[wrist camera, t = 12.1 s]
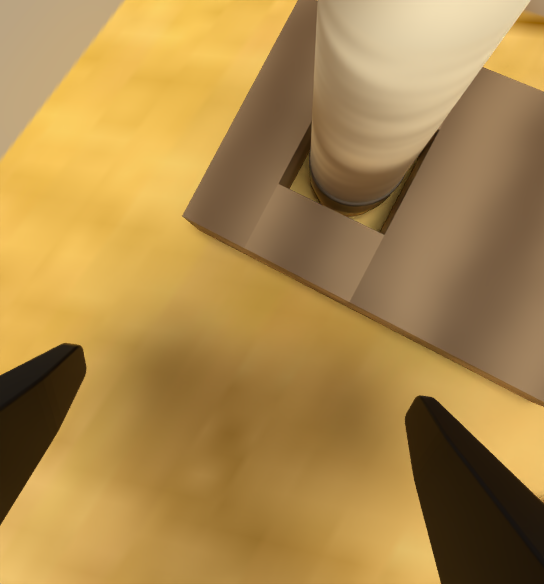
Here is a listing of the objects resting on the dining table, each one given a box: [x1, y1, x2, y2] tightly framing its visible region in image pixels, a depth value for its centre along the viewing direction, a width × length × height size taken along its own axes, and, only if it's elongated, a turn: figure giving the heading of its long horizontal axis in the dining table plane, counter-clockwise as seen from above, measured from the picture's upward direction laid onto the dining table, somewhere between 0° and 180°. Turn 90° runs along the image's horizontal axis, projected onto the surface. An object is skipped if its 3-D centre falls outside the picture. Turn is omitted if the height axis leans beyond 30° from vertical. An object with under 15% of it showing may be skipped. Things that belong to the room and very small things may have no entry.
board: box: [183, 0, 544, 407], centre depth 18 cm, size 22×14×3 cm, turn 62°
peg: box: [309, 0, 530, 216], centre depth 14 cm, size 5×5×13 cm
